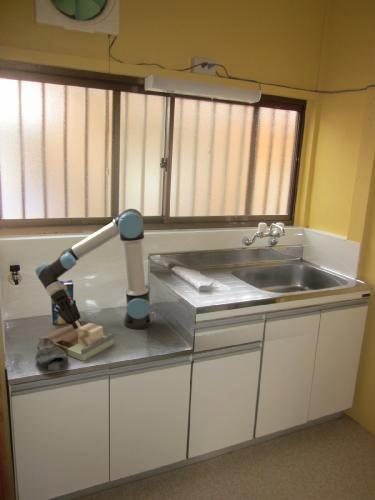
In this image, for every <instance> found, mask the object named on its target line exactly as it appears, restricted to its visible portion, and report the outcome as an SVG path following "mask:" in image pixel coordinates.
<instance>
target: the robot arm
mask: <svg viewBox="0 0 375 500" xmlns="http://www.w3.org/2000/svg"><path fill="white" fill-rule="evenodd" d="M144 229H145V228H144V218H143V215H142V214H141V211H139V210H137V209H135V208H128V209H125V210H124V211H122V212H121V213H120V214H119V215H117V216H116V217H113V219H112V222H111V221H110V223H108V224H107V225H105V226H103V227H101V228H100V229H98V230H96V231H95V232H94V233H92V234H90V235H89V236H87V237H85V238H83V239H82V240H80V241H79V242H77V243H75V244H74V245H71V247H69V248H66V249H64V250H63V251H62V252H61V253H60V255H59V256H58V258H57V259H56V260H54V261H53V262H52V263H51V264H49V263H48V262H47V263H42V264H41V265H38V266H37V267H36V268H35V274H36V276H37V279H38V280H39V282H40V283H41V284H42V286H43V287H44V289H45V291H46V292H47V295H48V296H50V299H52V301H53V303H55V305H56V307H55V308H54V311H55V312H56V313H58V314H59V316H60V317H61V318H62V319H63V320H64V321H65V322H66V323H65V324H66V325H71V324H72V326H73V327H74V329H76V330H77V332H78V328H80V327H82V326H83V325H82V323H81V321H80V319H81V317H82V316H81V315H80V311H79V309H78V306H77V301H76V299H73V301H72V300H70V299H69V298H68V295H67V293H66V291H65V290H64V289H63V286H62V285H61V283H60V282H59V281H60V280H59V277H61V276H63V274H65V273H66V272H68V271H70V270H72V269H73V268H74V267H75V266H77V261H80V260H81V259H82V258H84V257H85V256H86V255H88V254H90V253H91V252H93V251H95V250H97V249H98V248H100V247H102V246H104V245H105V244H106V243H108V242H110V241H112V240H113V239H115V238H116V237H118V236H119V237H120V239H119V240H120V241H121V242H122V243H123V247H124V255H125V266H126V277H127V290H126V291H125V299H126V309H125V310H126V312H125V315H124V318H123V325H124V327H127V328H129V329H133V330H143V329H147V328H149V327H151V326H152V318H151V313H150V312H151V302H150V301H151V300H150V292H151V289H150V288H151V287H150V285H149V284H148V283H146V278H145V277H146V276H145V269H144V268H145V267H144V254H143V243H142V242H143V240H144V239H145V234H144V233H145V231H144Z"/></svg>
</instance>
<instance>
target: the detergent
mask: <svg viewBox="0 0 375 500" xmlns="http://www.w3.org/2000/svg"><path fill="white" fill-rule="evenodd" d="M36 349H37V352H36V355H35V358H34V360H35V361H36V362H37V363H38V364H39V366H40V367H41V368H42V369H44V370H46V371H49V372H55V371H58V370H61V369H64V368H65V367H66V366H67V365H68V363H69V357H68V355H67V354H66V353H65V352H64V351H63V350H62V349H61V348H60V347H58V346H55V345H54V342H53V341H52V340H51V339H49V338H42V339H41V340H40V339H39V341H38V342H37V344H36Z"/></svg>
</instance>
